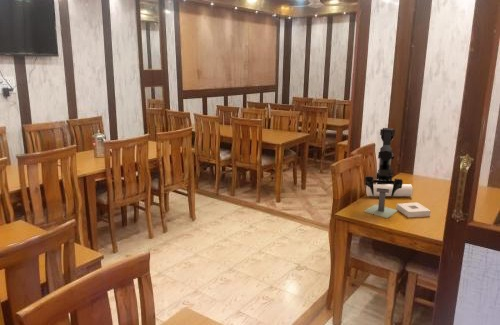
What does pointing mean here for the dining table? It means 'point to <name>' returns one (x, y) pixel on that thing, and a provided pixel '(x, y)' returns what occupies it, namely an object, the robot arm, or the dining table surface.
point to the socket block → (413, 209)
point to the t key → (382, 198)
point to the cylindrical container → (404, 191)
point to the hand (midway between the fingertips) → (382, 196)
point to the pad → (385, 214)
